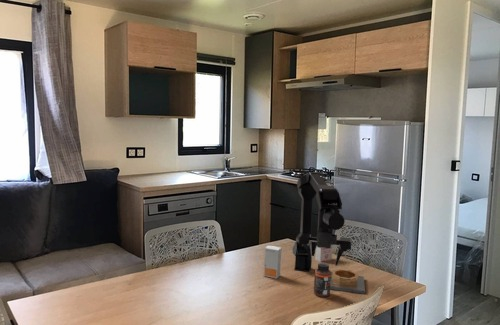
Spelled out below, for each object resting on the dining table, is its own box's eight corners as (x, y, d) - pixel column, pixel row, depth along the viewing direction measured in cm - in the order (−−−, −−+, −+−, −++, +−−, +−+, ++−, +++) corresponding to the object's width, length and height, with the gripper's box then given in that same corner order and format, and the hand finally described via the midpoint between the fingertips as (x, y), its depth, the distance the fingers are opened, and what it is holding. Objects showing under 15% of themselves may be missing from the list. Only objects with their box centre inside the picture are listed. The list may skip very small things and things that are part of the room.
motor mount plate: (324, 288, 154) (324, 278, 153) (326, 274, 168) (327, 265, 168) (364, 294, 150) (365, 283, 150) (363, 279, 165) (364, 269, 164)
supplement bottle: (329, 298, 145) (331, 268, 144) (313, 296, 146) (314, 266, 145) (329, 291, 151) (331, 262, 150) (313, 289, 152) (315, 261, 151)
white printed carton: (315, 259, 187) (316, 238, 186) (326, 257, 190) (327, 237, 189) (320, 262, 183) (321, 240, 182) (331, 260, 187) (333, 239, 186)
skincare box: (263, 276, 163) (264, 247, 162) (266, 272, 167) (267, 245, 166) (277, 279, 161) (278, 250, 160) (280, 275, 165) (281, 247, 164)
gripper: (297, 225, 140) (295, 268, 142) (352, 230, 136) (349, 275, 137) (301, 218, 151) (299, 258, 153) (352, 223, 147) (349, 264, 148)
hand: (323, 263), depth 147 cm, fingers open, 9 cm apart
